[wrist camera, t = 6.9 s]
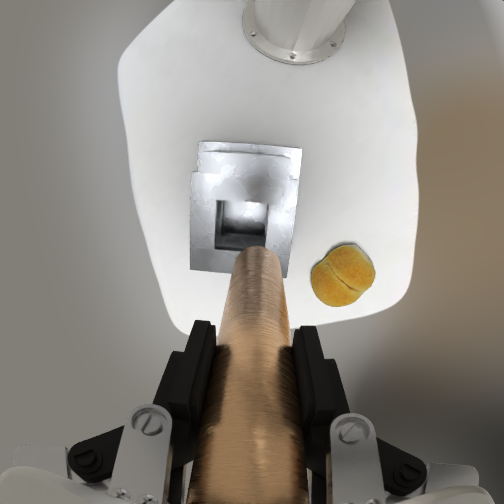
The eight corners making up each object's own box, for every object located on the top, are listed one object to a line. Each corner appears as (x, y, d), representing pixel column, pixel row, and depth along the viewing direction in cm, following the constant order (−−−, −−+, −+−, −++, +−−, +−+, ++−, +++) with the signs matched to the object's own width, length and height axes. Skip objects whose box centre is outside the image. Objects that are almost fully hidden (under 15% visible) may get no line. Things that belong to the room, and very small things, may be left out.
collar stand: (200, 141, 31) (180, 140, 23) (301, 148, 31) (314, 150, 23) (197, 249, 36) (180, 279, 28) (287, 257, 36) (294, 289, 28)
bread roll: (298, 278, 37) (302, 293, 34) (345, 232, 35) (354, 242, 31) (337, 310, 39) (343, 326, 35) (380, 269, 36) (391, 282, 33)
